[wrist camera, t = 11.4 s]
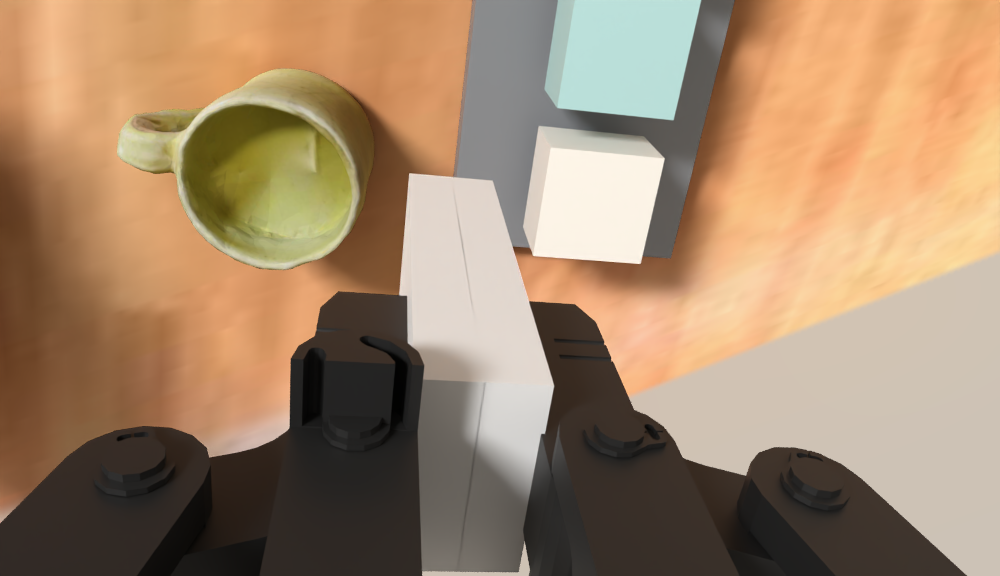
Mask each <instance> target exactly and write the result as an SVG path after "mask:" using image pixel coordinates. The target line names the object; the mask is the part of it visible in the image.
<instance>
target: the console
mask: <svg viewBox="0 0 1000 576" xmlns="http://www.w3.org/2000/svg"><path fill="white" fill-rule="evenodd" d="M734 1H735V0H701V3H700V8H699V12H698V16H697V21H696V25H695V29H694V34H693V38H692V42H691V47H690V51H689V55H688V60H687V64H686V68H685V73H684V77H683V82H682V86H681V90H680V95H679V99H678V103H677V108H676V112H675V116H674V120H666V119H657V118H647V117H638V116H628V115H618V114H609V113H599V112H590V111H580V110H571V109H561V108H557V107H556V106H555V104H554V103H553V101H552V100H551V98H550V97H549V95H548V94H547V92H546V91H545V89H544V88H545V82H546V75H547V69H548V62H549V56H550V49H551V43H552V36H553V30H554V23H555V17H556V10H557V4H558V0H473V1H472V10H471V19H470V29H469V38H468V47H467V56H466V65H465V74H464V84H463V93H462V102H461V111H460V120H459V129H458V139H457V148H456V157H455V166H454V175H453V177H457V178H468V179H479V180H491V181H493V183H494V187H495V190H496V193H497V197H498V200H499V203H500V207H501V210H502V213H503V217H504V220H505V223H506V227H507V230H508V233H509V237H510V240H511V243H512V246H515V247H528V248H530V246H529V243H528V240H527V237H526V234H525V231H524V228H523V224H524V218H525V211H526V205H527V198H528V192H529V185H530V179H531V172H532V166H533V159H534V153H535V146H536V140H537V134H538V127H539V126H546V127H556V128H566V129H576V130H585V131H595V132H605V133H615V134H625V135H635V136H644V137H645V138H646V139H647V140H648V141H649V142H650V143H651V144H652V146H653V147H654V148H655V149H656V150H657V151H658V152H659V153H660V154H661V155H662V156H663V157H664V158H665V160H664V164H663V169H662V173H661V177H660V182H659V186H658V190H657V195H656V199H655V203H654V208H653V212H652V216H651V221H650V225H649V229H648V234H647V238H646V242H645V247H644V251H643V255H642V256H646V257H659V258H671V255H672V251H673V247H674V243H675V239H676V235H677V231H678V227H679V223H680V219H681V215H682V211H683V207H684V203H685V199H686V195H687V191H688V187H689V183H690V179H691V175H692V171H693V167H694V163H695V159H696V155H697V151H698V146H699V142H700V138H701V134H702V130H703V126H704V122H705V118H706V114H707V110H708V106H709V102H710V98H711V94H712V90H713V86H714V82H715V78H716V74H717V70H718V66H719V62H720V58H721V54H722V50H723V46H724V42H725V38H726V34H727V30H728V25H729V21H730V17H731V13H732V9H733V5H734Z"/></svg>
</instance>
